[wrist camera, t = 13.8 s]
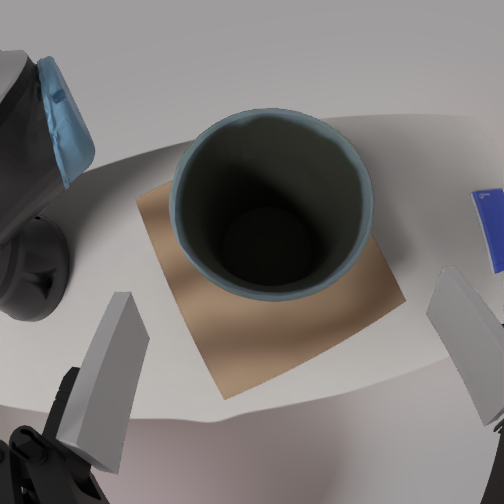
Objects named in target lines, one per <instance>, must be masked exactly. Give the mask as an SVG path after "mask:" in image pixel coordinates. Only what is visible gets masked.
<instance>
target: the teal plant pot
mask: <svg viewBox="0 0 504 504" xmlns="http://www.w3.org/2000/svg"><path fill="white" fill-rule="evenodd" d="M373 209H374V195H373V189H372V184H371V179H370V176H369V174H368V171H367V169H366V166H365V164H364V162H363V161H362V159H361V157H360V156H359V154H358V152H357V151H356V150H355V148H354V147H353V146H352V145H351V144H350V142H349V141H348V140H346V139H345V138H344V137H343V136H342V135H341V134H340V133H339V132H338V131H336V130H335V129H334V128H332V127H331V126H329V125H328V124H326V123H324V122H322V121H320V120H318V119H316V118H314V117H312V116H309V115H306V114H303V113H300V112H297V111H291V110H285V109H278V108H268V109H254V110H249V111H244V112H240V113H237V114H234V115H231V116H229V117H227V118H225V119H223V120H221V121H219V122H217V123H215V124H214V125H212V126H211V127H209V128H208V129H207V130H205V131H204V132H203V133H202V134H200V135H199V136H198V137H197V138H196V140H195V141H194V142H193V143H192V144H191V145H190V147H189V148H188V149H187V150H186V151H185V153H184V155H183V157H182V158H181V160H180V162H179V164H178V166H177V169H176V172H175V175H174V177H173V180H172V184H171V189H170V194H169V213H170V219H171V224H172V227H173V230H174V233H175V236H176V239H177V242H178V244H179V246H180V248H181V249H182V251H183V253H184V254H185V256H186V258H187V259H188V261H189V262H190V263H191V264H192V265H193V266H194V267H195V269H196V270H197V271H198V272H199V273H201V274H202V275H203V276H204V277H205V278H206V279H208V280H209V281H210V282H212V283H213V284H215V285H216V286H218V287H220V288H222V289H224V290H225V291H227V292H230V293H232V294H235V295H238V296H241V297H244V298H248V299H253V300H258V301H268V302H281V301H290V300H297V299H301V298H304V297H307V296H310V295H313V294H315V293H317V292H320V291H322V290H324V289H326V288H327V287H329V286H330V285H332V284H333V283H335V282H336V281H338V280H339V279H340V278H341V277H342V276H343V275H344V274H345V273H346V272H347V271H348V270H350V269H351V267H352V266H353V265H354V263H355V262H356V261H357V259H358V258H359V257H360V255H361V253H362V252H363V250H364V248H365V246H366V244H367V242H368V239H369V235H370V232H371V228H372V221H373Z"/></svg>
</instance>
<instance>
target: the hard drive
mask: <svg viewBox="0 0 504 504" xmlns="http://www.w3.org/2000/svg"><path fill="white" fill-rule="evenodd" d="M470 195H471V198H472V201H473V204H474V207H475V210H476V213H477V216H478V219H479V223H480V226H481V229H482V233H483V236H484V240H485V244H486V248H487V252H488V256H489V260H490V265H491V269H492V274H496V273H498V272H501V271H504V192H503V190H502V189H494V190H484V191H475V192H472V193H471V194H470Z"/></svg>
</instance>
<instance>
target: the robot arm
mask: <svg viewBox="0 0 504 504" xmlns="http://www.w3.org/2000/svg"><path fill="white" fill-rule="evenodd" d="M94 155H95V147H94V143H93V141H92V139H91V136H90V133H89V131H88V129H87V127H86V125H85V123H84V120H83V118H82V116H81V114H80V112H79V109H78V107H77V105H76V103H75V101H74V99H73V97H72V95H71V93H70V90H69V88H68V86H67V84H66V82H65V80H64V78H63V76H62V73H61V71H60V69H59V68H58V66H57V65H56V63H55V61H54V58H53V57H50V56H48V57H46V58H44V59H40V60H39V61H38V62H37V64H34V63H33V62H32V61H31V59H30V58H29V57H28V55H27V53H25V52H24V51H23V50H14V51H1V50H0V310H1V311H3V312H4V313H6V314H8V315H9V316H10V317H12V318H14V319H16V320H20V321H29V322H35V321H39V320H42V319H44V318H45V317H47V316H48V315H49V314H50V313H51V312H52V311H53V310H54V309H55V307H56V306H57V304H58V303H59V301H60V299H61V297H62V295H63V292H64V289H65V286H66V282H67V277H68V270H69V255H68V248H67V243H66V240H65V237H64V235H63V233H62V231H61V230H60V228H59V227H58V226H57V225H56V224H55V223H53V222H52V221H50V220H48V219H46V218H45V217H43V216H40V215H37V214H38V213H39V212H40V211H41V210H43V209H44V208H45V207H46V206H47V205H48V204H49V203H50V202H51V201H52V200H54V199H55V198H56V197H57V196H58V195H59V194H60V193H62V192H63V191H64V190H65V189H66V190H67V189H68V188H69V187H70V184H71V183H72V182H73V181H74V180H75V179H76V178H77V177H78V176H79V175H80V174H82V173H83V172H84V171H85V170H86V169H87V168H88V167H89V166H90V165H91V163H92V162H93V158H94ZM426 314H427V316H428V318H429V319H430V321H431V323H432V324H433V326H434V328H435V329H436V331H437V333H438V335H439V336H440V338H441V340H442V342H443V343H444V345H445V347H446V349H447V351H448V353H449V354H450V356H451V358H452V360H453V362H454V364H455V366H456V368H457V370H458V371H459V373H460V375H461V377H462V379H463V381H464V383H465V385H466V387H467V389H468V392H469V394H470V396H471V398H472V400H473V402H474V405H475V407H476V409H477V411H478V413H479V416H480V418H481V420H482V423H483V425H484V426H486V425H488V424H490V423H492V422H494V421H496V420H497V419H498V418H499V417H500V416H501V415H502V414H503V413H504V324H501V323H500V322H499V321H498V319H497V318H496V317H495V315H494V314H493V312H492V311H491V310H490V308H489V307H488V306H487V304H486V303H485V302H484V301H483V299H482V298H481V297H480V295H479V294H478V293H477V292H476V290H475V289H474V288H473V287H472V285H471V284H470V283H469V282H468V281H467V279H466V278H465V277H464V276H463V275H462V273H461V272H460V271H459V270H458V269H457V268H456V266H447V267H442V270H441V273H440V276H439V279H438V282H437V285H436V288H435V291H434V294H433V297H432V299H431V302H430V305H429V307H428V310H427V313H426ZM149 339H150V338H149V336H148V333H147V331H146V329H145V326H144V324H143V321H142V319H141V317H140V314H139V312H138V309H137V307H136V304H135V301H134V299H133V296H132V294H131V292H114V294H113V296H112V298H111V301H110V303H109V305H108V307H107V309H106V311H105V313H104V315H103V317H102V320H101V322H100V324H99V326H98V328H97V330H96V333H95V335H94V337H93V340H92V342H91V344H90V346H89V349H88V351H87V354H86V356H85V358H84V361H83V363H82V366H81V368H78V367H72V368H71V369H70V370H69V371H68V372H67V373H66V375H65V376H64V377H63V380H62V382H61V384H60V387H59V391H58V392H57V395H56V397H55V399H56V400H55V401H54V402H53V405H52V408H51V411H50V413H49V416H48V419H47V422H46V425H45V428H44V431H43V433H42V435H40V434H39V433H38V432H37V431H35V430H34V429H33V428H32V427H30V426H26V425H24V426H20V427H18V428H17V429H15V430H14V431H13V433H12V435H11V436H10V440H9V445H8V444H6V443H5V442H4V441H2V440H0V504H110V503H109V502H108V500H107V499H106V497H105V495H104V493H103V492H102V490H101V488H100V486H99V485H98V483H97V481H96V479H95V477H94V475H93V474H92V473H91V471H90V469H91V465H92V466H94V467H95V468H97V469H98V470H100V471H104V472H109V473H113V474H118V472H119V467H120V461H121V456H122V451H123V445H124V441H125V436H126V431H127V427H128V422H129V417H130V413H131V409H132V404H133V400H134V396H135V392H136V388H137V384H138V380H139V376H140V372H141V368H142V365H143V361H144V357H145V353H146V350H147V346H148V343H149ZM501 426H502V428H501V429H500V430H499V431H498V433H500V434H501V435H500V440H499V444H498V448H497V452H496V456H495V460H494V464H493V467H492V471H491V474H490V477H489V480H488V484H487V487H486V489H485V492H484V495H483V498H482V501H481V503H480V504H504V419H503V420H502V421H501V422H499V423H498V425H496V427H495V428H494V432H496V431H497V430H498V429H499V428H500V427H501ZM21 487H23V493H22V489H21Z"/></svg>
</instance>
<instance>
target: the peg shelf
mask: <svg viewBox="0 0 504 504" xmlns="http://www.w3.org/2000/svg"><path fill="white" fill-rule="evenodd" d="M171 184H172V180H171V181H169V182H167V183H165V184H163V185H161V186H159V187H157V188H155V189H153V190H151V191H149V192H148V193H146V194H144V195H142V196H140V197H138V198H136V202H137V205H138V208H139V211H140V213H141V216H142V219H143V222H144V224H145V227H146V230H147V232H148V235H149V238H150V240H151V243H152V245H153V248H154V250H155V253H156V255H157V258H158V260H159V263H160V265H161V268H162V270H163V273H164V275H165V277H166V280H167V282H168V285H169V287H170V289H171V291H172V294H173V296H174V298H175V301H176V303H177V305H178V307H179V310H180V312H181V314H182V316H183V318H184V321H185V323H186V325H187V327H188V329H189V331H190V333H191V335H192V338H193V340H194V342H195V344H196V346H197V348H198V350H199V352H200V354H201V356H202V358H203V360H204V362H205V364H206V366H207V368H208V370H209V372H210V374H211V376H212V378H213V379H214V381H215V383H216V385H217V387H218V389H219V391H220V393H221V394H222V396H223V398H224V400H226V399H228V398H230V397H233V396H235V395H237V394H240V393H242V392H244V391H246V390H249V389H251V388H253V387H255V386H257V385H260V384H262V383H264V382H266V381H268V380H270V379H272V378H274V377H276V376H278V375H280V374H282V373H284V372H286V371H288V370H290V369H292V368H294V367H296V366H298V365H300V364H302V363H304V362H306V361H308V360H310V359H312V358H313V357H315V356H317V355H319V354H321V353H323V352H324V351H326V350H328V349H330V348H332V347H333V346H335V345H337V344H339V343H340V342H342V341H344V340H345V339H347V338H349V337H351V336H352V335H354V334H356V333H357V332H359V331H361V330H362V329H364V328H365V327H367V326H369V325H370V324H372V323H373V322H375V321H377V320H378V319H380V318H381V317H383V316H384V315H386V314H387V313H389V312H390V311H392V310H393V309H395V308H396V307H398V306H399V305H401V304H402V303H404V302H405V301H406V300H405V298H404V296H403V294H402V292H401V289H400V287H399V285H398V283H397V281H396V279H395V277H394V275H393V274H392V272H391V270H390V268H389V266H388V264H387V262H386V260H385V258H384V256H383V254H382V253H381V251H380V249H379V247H378V245H377V243H376V242H375V240H374V238H373V236H372V235H371V233H370V235H369V239H368V242H367V244H366V246H365V248H364V250H363V252H362V253H361V255H360V257H359V258H358V259H357V261H356V262H355V263H354V265H353V266H352V267H351V269H350V270H348V271H347V272H346V273H345V274H344V275H343V276H342V277H341V278H340V279H339V280H338V281H336V282H335V283H333V284H332V285H330V286H329V287H327V288H326V289H324V290H322V291H320V292H317V293H315V294H313V295H310V296H307V297H304V298H301V299H297V300H290V301H281V302H268V301H258V300H253V299H248V298H244V297H241V296H238V295H235V294H232V293H230V292H227V291H225V290H224V289H222V288H220V287H218V286H216V285H215V284H213V283H212V282H210V281H209V280H208V279H206V278H205V277H204V276H203V275H202V274H201V273H199V272H198V271H197V270H196V269H195V267H194V266H193V265H192V264H191V263H190V262H189V261H188V259H187V258H186V256H185V254H184V253H183V251H182V249H181V248H180V246H179V244H178V242H177V239H176V236H175V233H174V230H173V227H172V224H171V219H170V213H169V194H170V189H171Z"/></svg>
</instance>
